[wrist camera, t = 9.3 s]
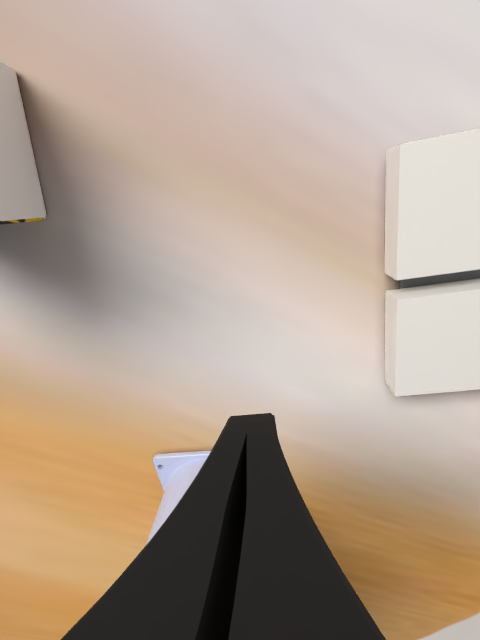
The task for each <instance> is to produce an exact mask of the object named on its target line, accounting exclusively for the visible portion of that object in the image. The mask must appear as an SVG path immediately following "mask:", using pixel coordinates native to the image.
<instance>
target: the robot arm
mask: <svg viewBox="0 0 480 640" xmlns="http://www.w3.org/2000/svg"><path fill="white" fill-rule="evenodd" d="M153 463H154V466H155V468H156V471H157V474H158V477H159V479H160V482H161V485H162V487H163V490H164V495H163V498H162V501H161V504H160V506H159V509H158V512H157V515H156V518H155V521H154V524H153V526H152V529H151V532H150V535H149V538H148V541H147V543H146V546H145V547H144V549H143V550H142V551H141V552H140V553H139V554H138V556H137V557H136V558H135V559H134V560H133V562H132V563H131V564H130V565H129V566H128V568H127V569H126V570H125V571H124V572H123V573H122V575H121V576H120V577H119V578H118V579H117V580H116V581H115V583H114V584H113V585H112V586H111V587H110V588H109V589H108V590H107V591H106V593H105V594H104V595H103V596H102V597H101V598H100V599H99V600H98V601H97V602H96V603H95V604H94V605H93V606H92V607H91V609H90V610H89V611H88V612H87V613H86V614H85V615H84V616H83V617H82V618H81V619H80V620H79V621H78V622H77V623H76V624H75V625H74V626H73V627H72V628H71V629H70V630H69V631H68V633H67V634H66V635H65V636H64V637H63V638H62V639H61V640H386V639H385V637H384V636H383V634H382V633H381V632H380V630H379V628H378V627H377V625H376V624H375V622H374V621H373V619H372V617H371V616H370V614H369V613H368V611H367V610H366V608H365V606H364V605H363V603H362V602H361V600H360V598H359V597H358V595H357V594H356V592H355V591H354V589H353V587H352V586H351V584H350V583H349V581H348V580H347V578H346V576H345V575H344V573H343V572H342V570H341V568H340V566H339V565H338V563H337V561H336V560H335V558H334V556H333V555H332V553H331V551H330V549H329V548H328V546H327V544H326V542H325V541H324V539H323V537H322V535H321V533H320V532H319V530H318V528H317V526H316V524H315V522H314V520H313V519H312V517H311V515H310V513H309V511H308V509H307V507H306V505H305V503H304V501H303V499H302V497H301V495H300V492H299V490H298V488H297V486H296V484H295V482H294V479H293V477H292V475H291V472H290V470H289V467H288V465H287V462H286V460H285V458H284V455H283V452H282V449H281V446H280V443H279V440H278V436H277V430H276V424H275V417H274V415H272V414H271V413H266V414H253V415H241V416H231V417H230V418H229V419H228V421H227V423H226V425H225V427H224V429H223V431H222V433H221V434H220V436H219V438H218V440H217V442H216V444H215V445H214V447H213V449H212V451H196V452H181V453H165V454H157V455H155V457H154V459H153Z"/></svg>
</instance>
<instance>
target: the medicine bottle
mask: <svg viewBox="0 0 480 640" xmlns="http://www.w3.org/2000/svg"><path fill="white" fill-rule="evenodd" d="M45 218H46V210H45V205H44V200H43V196H42V191H41V186H40V182H39V177H38V172H37V168H36V163H35V159H34V154H33V149H32V145H31V140H30V135H29V131H28V126H27V122H26V117H25V112H24V108H23V103H22V98H21V94H20V89H19V85H18V80H17V75H16V73H15V70H14V69H13V68H12V67H11V66H10V65H8V64H6V63H4V62H3V61H1V60H0V224H10V223H21V222H32V221H41V220H44V219H45Z"/></svg>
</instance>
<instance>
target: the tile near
mask: <svg viewBox="0 0 480 640" xmlns="http://www.w3.org/2000/svg"><path fill="white" fill-rule="evenodd" d="M478 269H480V128H478V129H473V130H468V131H463V132H458V133H453V134H448V135H442V136H437V137H432V138H427V139H422V140H417V141H412V142H406V143H401V144H398V145H396V146H394V147H391V148H389V149H387V150H386V203H385V274H387V275H389V276H390V277H392V278H393V279H395V280H403V279H411V278H418V277H426V276H433V275H441V274H448V273H456V272H463V271H471V270H478Z"/></svg>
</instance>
